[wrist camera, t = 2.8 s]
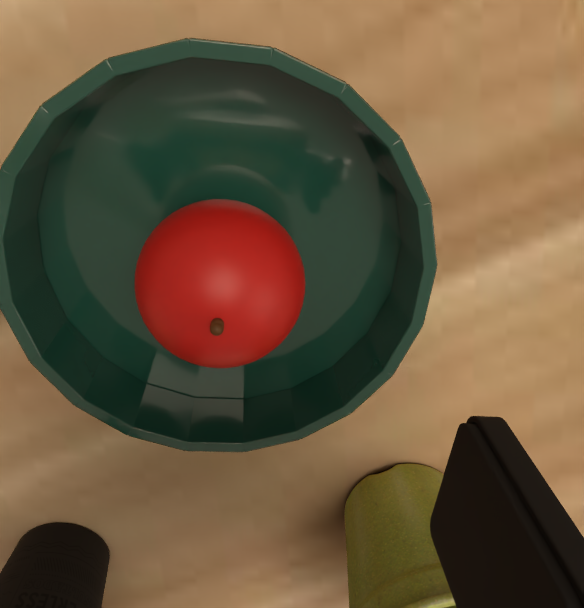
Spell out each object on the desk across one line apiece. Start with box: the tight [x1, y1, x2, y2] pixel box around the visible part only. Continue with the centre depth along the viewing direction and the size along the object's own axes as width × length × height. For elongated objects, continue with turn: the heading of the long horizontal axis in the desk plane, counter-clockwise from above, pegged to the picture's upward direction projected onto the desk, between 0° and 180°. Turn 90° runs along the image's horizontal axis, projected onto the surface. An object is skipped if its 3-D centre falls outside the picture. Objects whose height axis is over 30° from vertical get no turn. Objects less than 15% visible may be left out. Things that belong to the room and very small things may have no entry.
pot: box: [0, 38, 437, 452], centre depth 19 cm, size 15×15×4 cm
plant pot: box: [344, 464, 457, 608], centre depth 24 cm, size 9×9×9 cm
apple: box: [135, 199, 305, 368], centre depth 17 cm, size 6×6×6 cm
